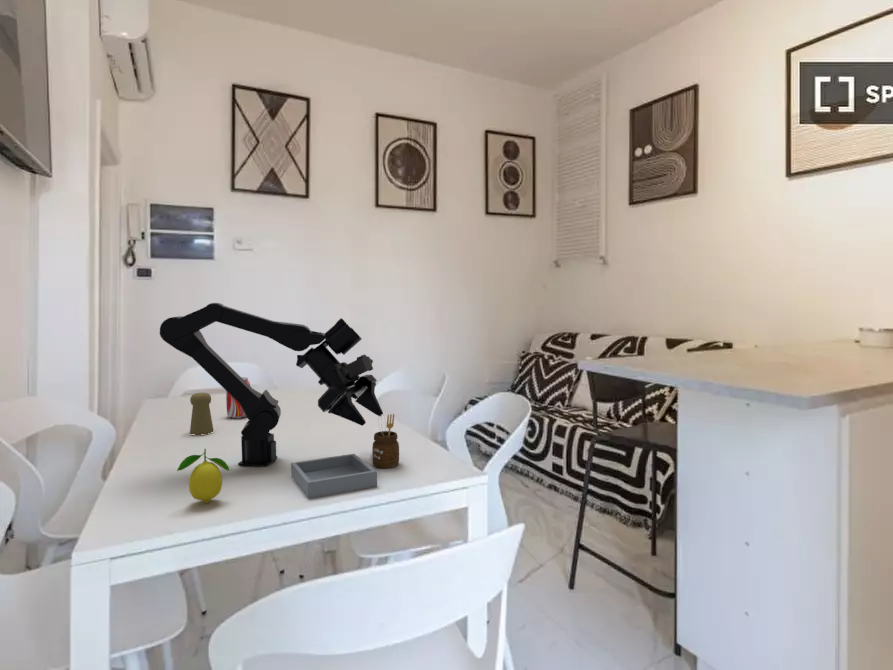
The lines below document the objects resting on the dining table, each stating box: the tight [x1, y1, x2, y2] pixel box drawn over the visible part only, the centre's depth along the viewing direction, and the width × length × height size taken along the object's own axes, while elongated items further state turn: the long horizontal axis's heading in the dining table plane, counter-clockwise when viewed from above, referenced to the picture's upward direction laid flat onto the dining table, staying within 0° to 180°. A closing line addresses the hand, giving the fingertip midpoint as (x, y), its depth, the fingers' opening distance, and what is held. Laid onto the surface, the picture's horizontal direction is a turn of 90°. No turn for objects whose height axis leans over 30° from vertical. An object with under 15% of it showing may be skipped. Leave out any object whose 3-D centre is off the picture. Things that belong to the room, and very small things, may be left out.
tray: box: [290, 453, 378, 500], centre depth 108 cm, size 14×14×3 cm
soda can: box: [225, 376, 251, 419], centre depth 166 cm, size 7×7×12 cm
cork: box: [189, 392, 214, 436], centre depth 146 cm, size 6×6×11 cm
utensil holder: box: [371, 413, 400, 469], centre depth 118 cm, size 6×6×12 cm
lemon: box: [176, 448, 230, 504], centre depth 96 cm, size 7×6×10 cm
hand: (373, 419), depth 119 cm, fingers open, 9 cm apart
